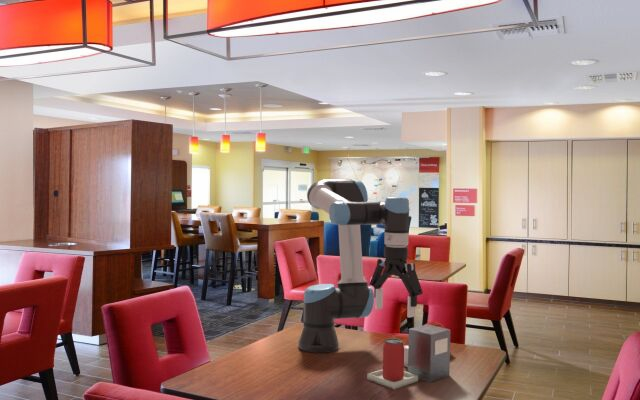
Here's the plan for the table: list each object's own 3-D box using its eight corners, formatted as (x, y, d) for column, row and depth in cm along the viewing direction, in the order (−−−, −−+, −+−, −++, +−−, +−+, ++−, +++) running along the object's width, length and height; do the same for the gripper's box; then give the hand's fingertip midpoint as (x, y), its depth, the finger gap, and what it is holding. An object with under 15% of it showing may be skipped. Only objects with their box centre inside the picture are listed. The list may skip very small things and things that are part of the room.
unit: (406, 374, 183) (407, 328, 183) (426, 368, 190) (427, 324, 189) (430, 382, 176) (431, 334, 176) (450, 375, 182) (451, 329, 182)
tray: (367, 379, 178) (367, 373, 178) (391, 372, 185) (391, 366, 185) (394, 389, 169) (394, 383, 169) (417, 381, 177) (418, 375, 177)
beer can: (403, 383, 173) (403, 344, 173) (381, 381, 174) (382, 342, 174) (404, 376, 180) (404, 338, 179) (383, 374, 181) (384, 337, 181)
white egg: (398, 364, 194) (399, 347, 193) (408, 361, 197) (408, 344, 197) (410, 368, 190) (410, 350, 190) (419, 365, 193) (420, 347, 193)
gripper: (359, 242, 185) (358, 306, 185) (419, 250, 166) (417, 322, 166) (375, 241, 190) (374, 304, 190) (435, 249, 171) (433, 318, 171)
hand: (394, 312), depth 178 cm, fingers open, 13 cm apart
